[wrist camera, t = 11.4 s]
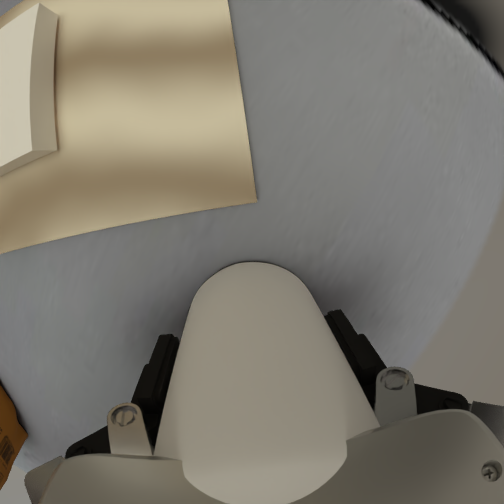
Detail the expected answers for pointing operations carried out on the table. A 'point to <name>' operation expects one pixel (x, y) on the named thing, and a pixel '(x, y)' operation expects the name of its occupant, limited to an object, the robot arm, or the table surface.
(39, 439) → the table surface
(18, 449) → the coffee package
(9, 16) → the cloth
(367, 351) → the robot arm
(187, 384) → the can
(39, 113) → the tile
